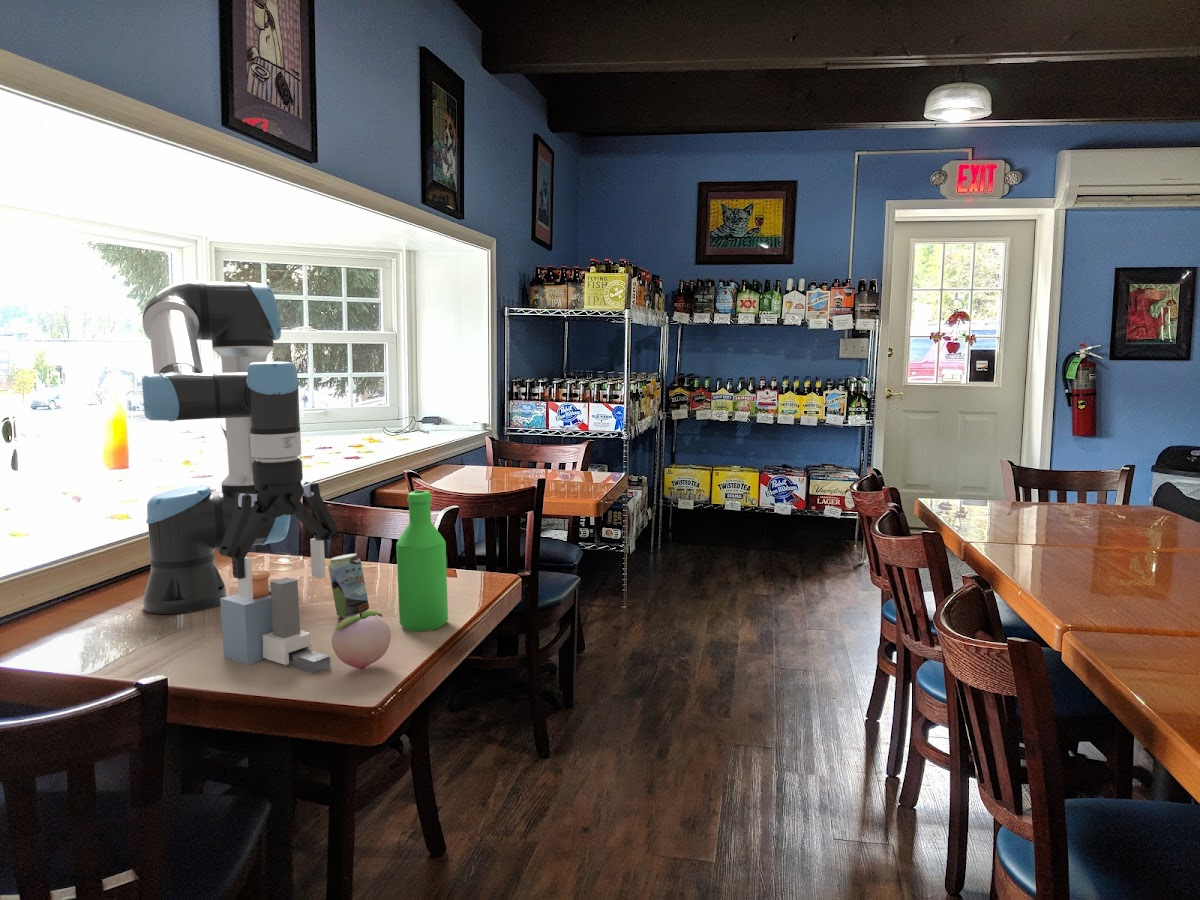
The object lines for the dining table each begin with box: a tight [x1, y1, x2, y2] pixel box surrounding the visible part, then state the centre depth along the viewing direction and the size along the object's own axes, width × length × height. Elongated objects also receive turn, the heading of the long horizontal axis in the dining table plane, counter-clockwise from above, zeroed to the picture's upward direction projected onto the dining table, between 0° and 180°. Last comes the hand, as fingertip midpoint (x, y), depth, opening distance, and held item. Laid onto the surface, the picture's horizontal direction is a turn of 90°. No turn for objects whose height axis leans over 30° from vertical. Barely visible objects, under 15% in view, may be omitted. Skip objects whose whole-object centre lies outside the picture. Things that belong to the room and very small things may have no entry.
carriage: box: [262, 576, 314, 666], centre depth 140 cm, size 6×5×13 cm
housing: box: [219, 585, 301, 666], centre depth 144 cm, size 7×10×10 cm
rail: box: [286, 648, 331, 675], centre depth 139 cm, size 12×3×2 cm, turn 55°
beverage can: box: [328, 553, 370, 619], centre depth 163 cm, size 6×7×12 cm
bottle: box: [396, 490, 449, 632], centre depth 156 cm, size 9×9×25 cm
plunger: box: [252, 570, 271, 599], centre depth 144 cm, size 4×4×5 cm
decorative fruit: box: [331, 608, 392, 671], centre depth 136 cm, size 9×8×10 cm
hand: (283, 587), depth 140 cm, fingers open, 13 cm apart
